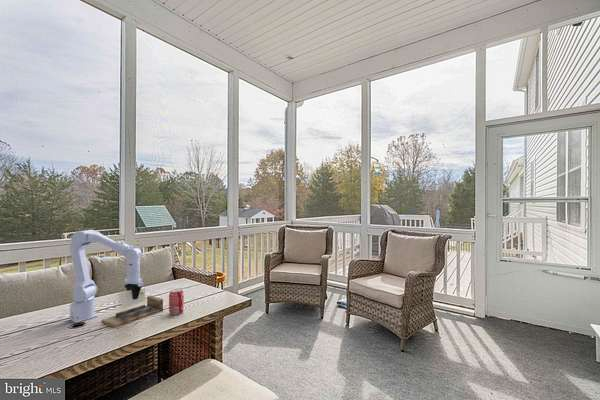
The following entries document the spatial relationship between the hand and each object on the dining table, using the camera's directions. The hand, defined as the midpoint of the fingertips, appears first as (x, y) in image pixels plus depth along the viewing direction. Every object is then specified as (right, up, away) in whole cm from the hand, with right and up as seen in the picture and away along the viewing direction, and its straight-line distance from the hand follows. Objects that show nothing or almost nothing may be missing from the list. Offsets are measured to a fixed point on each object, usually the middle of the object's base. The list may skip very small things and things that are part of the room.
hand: (133, 298), depth 142 cm
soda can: (+20, -9, +3) cm, 23 cm away
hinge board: (0, -9, 0) cm, 9 cm away
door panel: (0, -3, 0) cm, 3 cm away
